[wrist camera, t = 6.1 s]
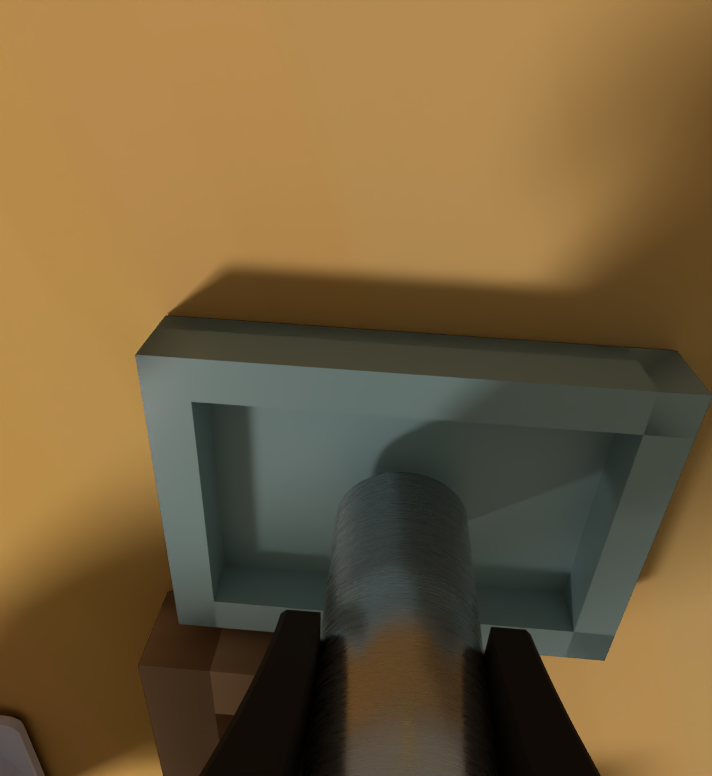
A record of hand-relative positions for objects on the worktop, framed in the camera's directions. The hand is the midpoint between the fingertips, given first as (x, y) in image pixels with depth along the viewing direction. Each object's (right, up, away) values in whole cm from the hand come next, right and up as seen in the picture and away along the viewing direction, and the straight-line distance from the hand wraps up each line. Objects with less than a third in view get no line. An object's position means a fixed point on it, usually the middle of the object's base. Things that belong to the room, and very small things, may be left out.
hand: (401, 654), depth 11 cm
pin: (0, +2, +3) cm, 4 cm away
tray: (0, +3, +4) cm, 5 cm away
